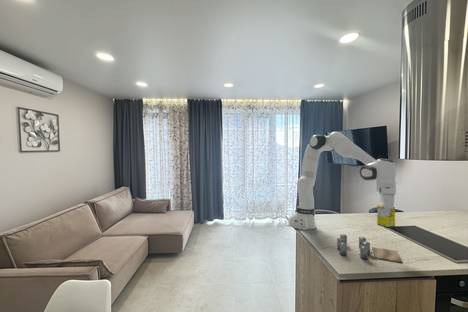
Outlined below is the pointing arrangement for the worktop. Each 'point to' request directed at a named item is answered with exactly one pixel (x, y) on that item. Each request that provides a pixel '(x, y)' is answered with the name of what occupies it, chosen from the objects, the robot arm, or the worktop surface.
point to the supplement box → (385, 217)
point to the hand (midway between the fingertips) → (385, 213)
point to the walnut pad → (386, 255)
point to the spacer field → (363, 246)
